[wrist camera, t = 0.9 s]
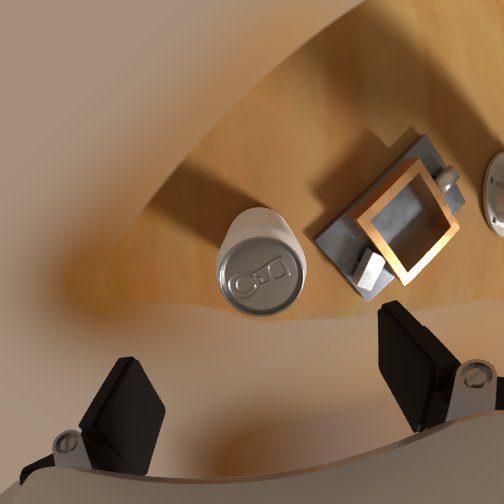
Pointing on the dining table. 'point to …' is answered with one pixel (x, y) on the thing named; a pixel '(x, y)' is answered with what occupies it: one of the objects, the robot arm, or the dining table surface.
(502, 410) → the robot arm
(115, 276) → the dining table surface
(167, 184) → the dining table surface
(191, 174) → the dining table surface
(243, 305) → the can
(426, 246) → the base
